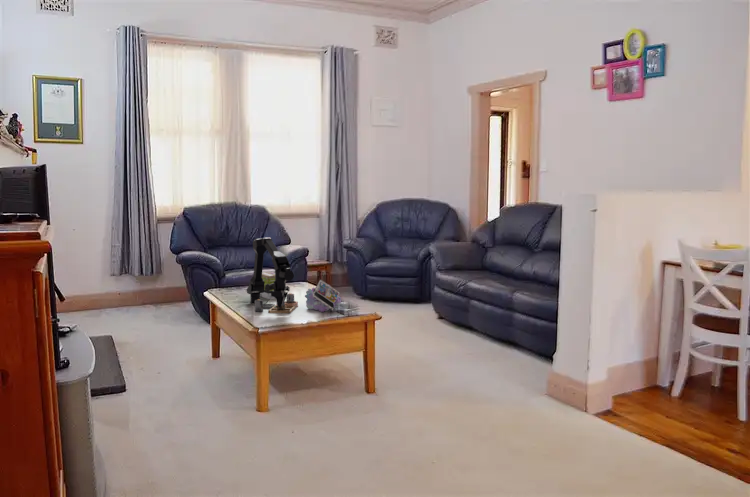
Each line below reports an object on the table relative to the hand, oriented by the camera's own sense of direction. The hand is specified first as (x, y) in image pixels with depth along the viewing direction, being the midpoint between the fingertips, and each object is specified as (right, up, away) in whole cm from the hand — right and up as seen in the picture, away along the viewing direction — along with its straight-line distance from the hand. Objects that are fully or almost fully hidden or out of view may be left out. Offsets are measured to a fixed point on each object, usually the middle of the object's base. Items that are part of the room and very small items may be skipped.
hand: (280, 306), depth 352 cm
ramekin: (+3, -2, +15) cm, 16 cm away
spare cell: (-12, -4, +1) cm, 13 cm away
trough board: (0, -3, +4) cm, 5 cm away
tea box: (-14, +2, +48) cm, 50 cm away
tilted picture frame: (+23, -3, +10) cm, 25 cm away
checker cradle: (-8, -2, +11) cm, 14 cm away
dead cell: (+3, -1, +15) cm, 16 cm away
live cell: (0, -2, 0) cm, 2 cm away
